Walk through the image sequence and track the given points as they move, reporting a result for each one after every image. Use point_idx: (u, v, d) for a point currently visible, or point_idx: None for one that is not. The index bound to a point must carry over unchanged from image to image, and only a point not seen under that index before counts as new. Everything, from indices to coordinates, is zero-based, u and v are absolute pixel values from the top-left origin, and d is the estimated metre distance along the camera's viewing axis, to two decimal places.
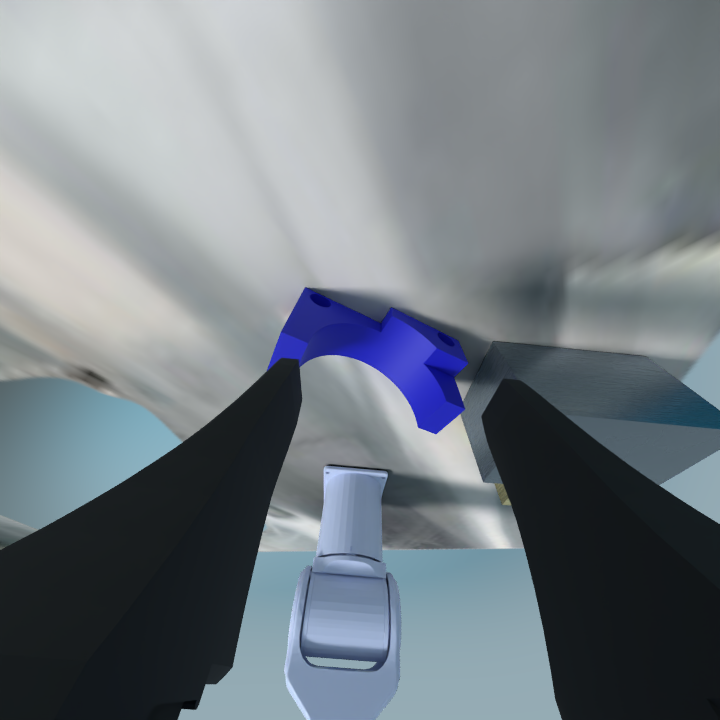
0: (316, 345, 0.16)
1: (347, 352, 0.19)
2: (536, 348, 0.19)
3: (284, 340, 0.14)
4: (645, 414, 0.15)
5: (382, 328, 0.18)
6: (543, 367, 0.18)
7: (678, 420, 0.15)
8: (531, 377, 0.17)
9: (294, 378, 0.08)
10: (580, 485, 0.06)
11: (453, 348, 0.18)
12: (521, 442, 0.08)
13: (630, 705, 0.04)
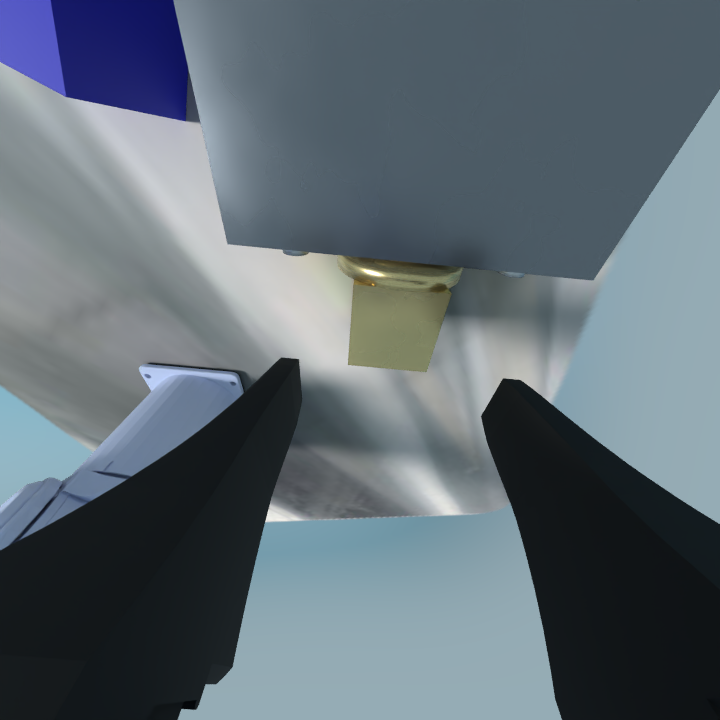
0: None
1: None
2: None
3: None
4: None
5: None
6: None
7: None
8: None
9: (294, 378, 0.08)
10: (580, 485, 0.06)
11: None
12: (521, 442, 0.08)
13: (630, 704, 0.04)
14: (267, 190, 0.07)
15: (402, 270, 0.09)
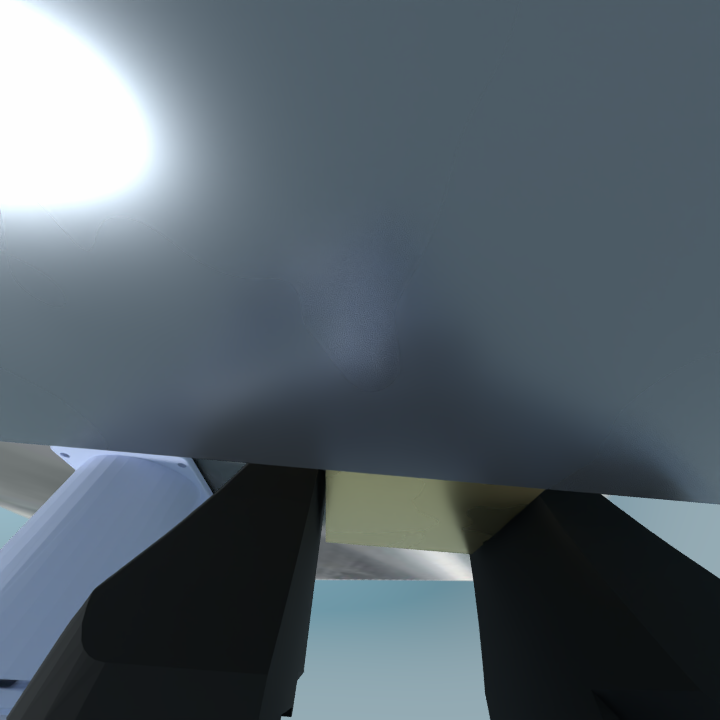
0: None
1: None
2: None
3: None
4: None
5: None
6: None
7: None
8: None
9: None
10: None
11: None
12: None
13: (537, 697, 0.04)
14: None
15: None
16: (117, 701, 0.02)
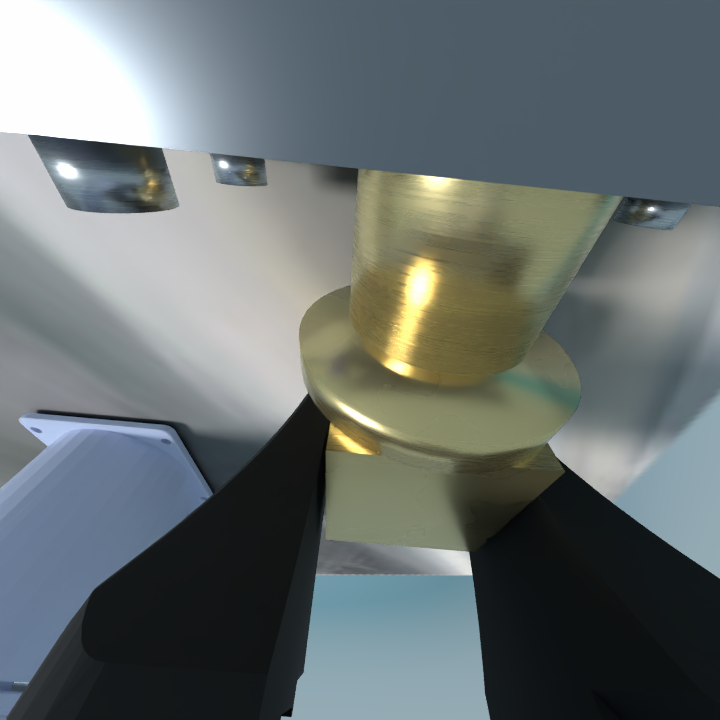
0: None
1: None
2: None
3: None
4: None
5: None
6: None
7: None
8: None
9: None
10: None
11: None
12: None
13: (538, 697, 0.04)
14: None
15: (454, 442, 0.03)
16: (117, 700, 0.02)
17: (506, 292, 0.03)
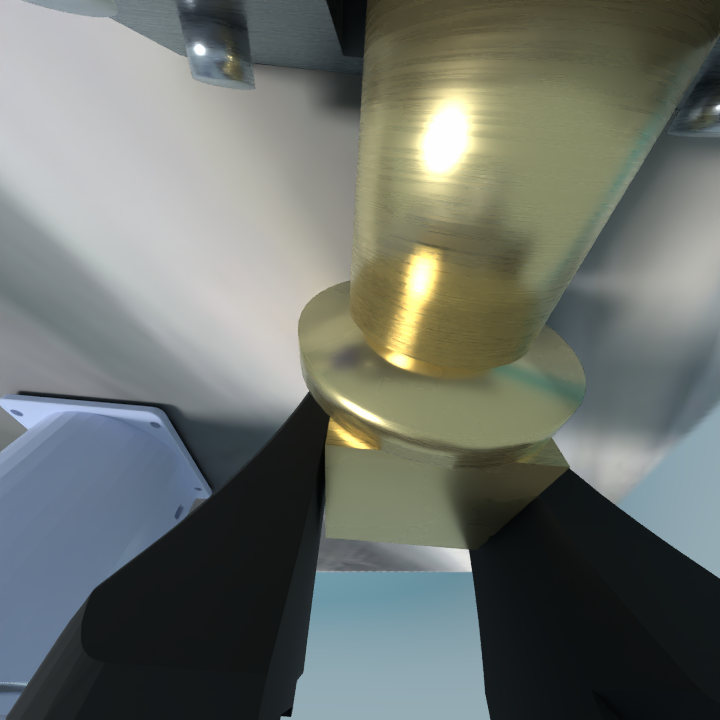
0: None
1: None
2: None
3: None
4: None
5: None
6: None
7: None
8: None
9: None
10: None
11: None
12: None
13: (537, 697, 0.04)
14: None
15: (457, 435, 0.03)
16: (116, 701, 0.02)
17: (510, 280, 0.03)
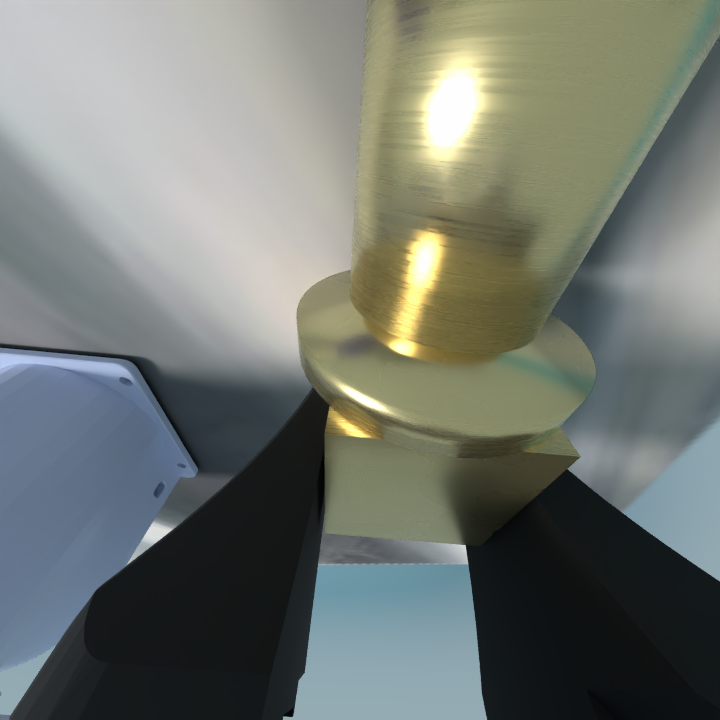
0: None
1: None
2: None
3: None
4: None
5: None
6: None
7: None
8: None
9: None
10: None
11: None
12: None
13: (533, 697, 0.04)
14: None
15: (464, 422, 0.03)
16: (120, 701, 0.02)
17: (521, 255, 0.03)
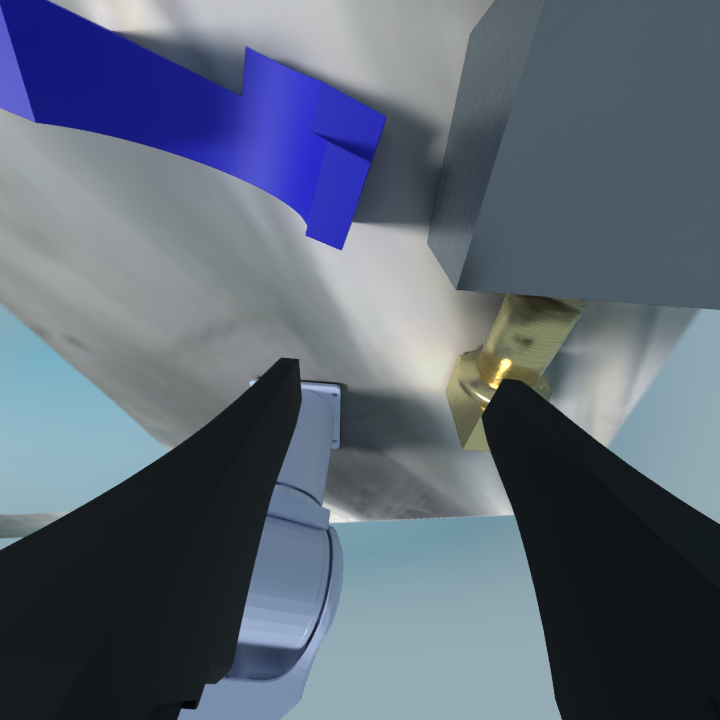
0: (106, 89, 0.09)
1: (205, 155, 0.12)
2: None
3: None
4: None
5: None
6: None
7: None
8: None
9: (294, 378, 0.08)
10: (580, 485, 0.06)
11: None
12: (521, 442, 0.08)
13: (630, 705, 0.04)
14: (512, 249, 0.09)
15: None
16: None
17: (531, 373, 0.14)
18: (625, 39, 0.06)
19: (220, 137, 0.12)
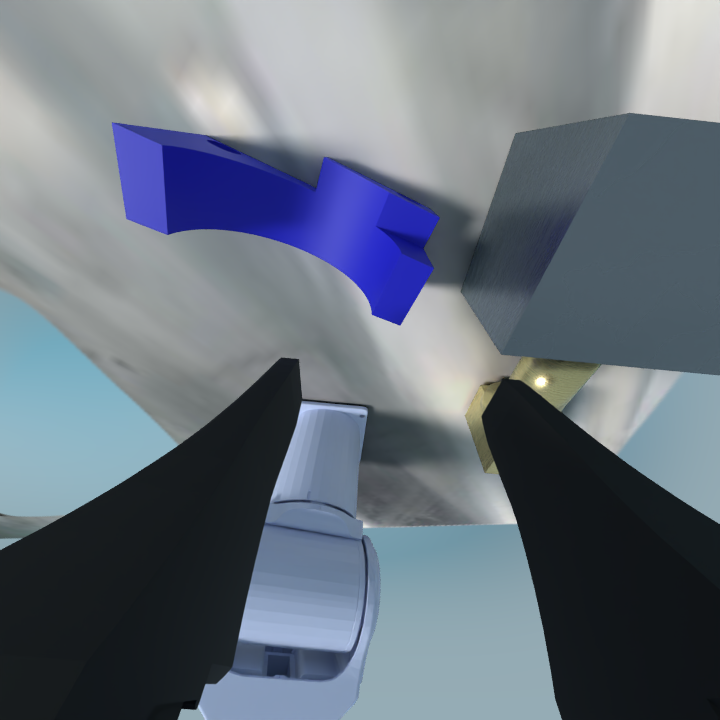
0: (213, 197, 0.11)
1: (277, 233, 0.14)
2: None
3: (124, 144, 0.09)
4: None
5: (317, 187, 0.13)
6: None
7: None
8: None
9: (294, 378, 0.08)
10: (580, 485, 0.06)
11: (418, 205, 0.13)
12: (521, 442, 0.08)
13: (630, 704, 0.04)
14: (552, 327, 0.11)
15: None
16: None
17: None
18: (657, 197, 0.08)
19: (292, 220, 0.14)
